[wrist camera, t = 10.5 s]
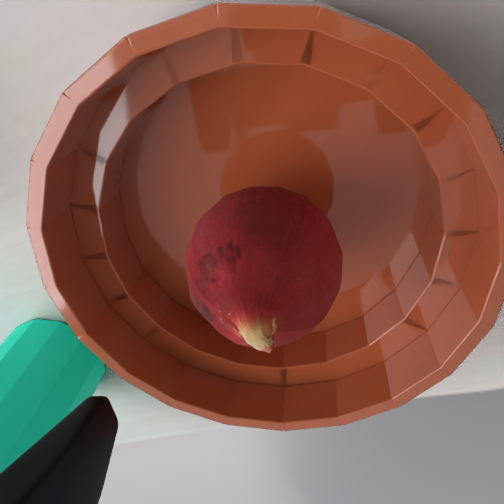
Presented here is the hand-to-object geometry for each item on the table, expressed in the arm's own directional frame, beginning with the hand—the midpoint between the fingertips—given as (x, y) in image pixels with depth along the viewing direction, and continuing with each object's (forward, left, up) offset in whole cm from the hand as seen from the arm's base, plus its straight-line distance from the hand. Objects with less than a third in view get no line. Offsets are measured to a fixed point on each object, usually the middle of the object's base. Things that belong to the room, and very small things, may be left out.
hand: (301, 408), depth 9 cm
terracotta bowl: (+1, +2, -12) cm, 12 cm away
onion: (+1, +2, -11) cm, 11 cm away
